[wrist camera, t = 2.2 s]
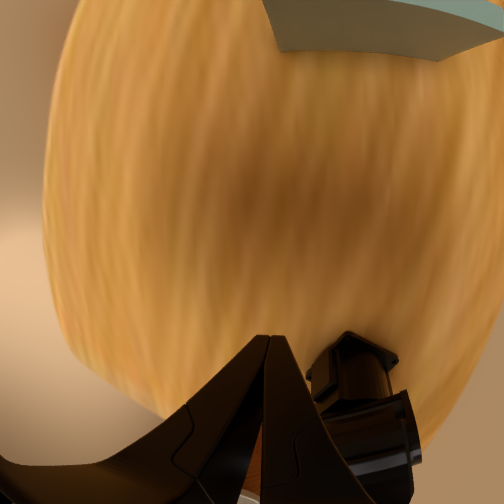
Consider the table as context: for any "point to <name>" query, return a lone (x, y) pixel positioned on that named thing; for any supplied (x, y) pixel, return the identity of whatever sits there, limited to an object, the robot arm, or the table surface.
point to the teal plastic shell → (385, 26)
